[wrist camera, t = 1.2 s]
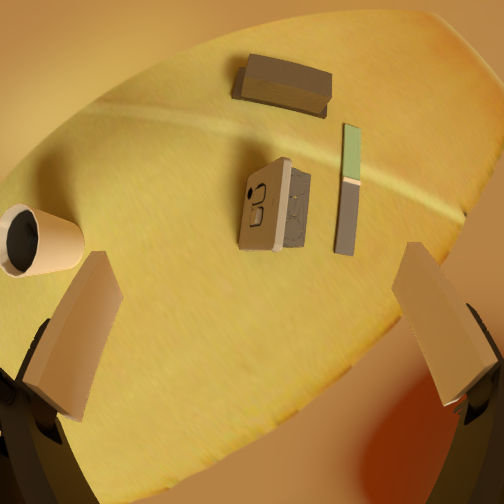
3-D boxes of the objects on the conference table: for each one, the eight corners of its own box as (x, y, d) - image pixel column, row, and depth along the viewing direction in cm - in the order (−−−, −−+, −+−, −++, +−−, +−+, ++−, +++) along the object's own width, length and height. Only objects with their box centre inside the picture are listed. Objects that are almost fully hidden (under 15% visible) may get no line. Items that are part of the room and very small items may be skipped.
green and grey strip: (334, 252, 31) (336, 252, 30) (343, 125, 32) (346, 122, 31) (351, 256, 31) (354, 255, 31) (359, 130, 32) (361, 128, 31)
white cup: (66, 206, 27) (19, 188, 17) (97, 243, 28) (51, 237, 18) (38, 246, 26) (-13, 242, 17) (66, 284, 27) (17, 293, 17)
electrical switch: (247, 176, 30) (267, 150, 22) (285, 184, 31) (316, 162, 23) (237, 250, 30) (254, 248, 22) (277, 255, 31) (308, 256, 23)
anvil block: (232, 98, 30) (235, 75, 25) (239, 70, 30) (242, 46, 25) (324, 119, 31) (339, 100, 26) (325, 90, 32) (339, 70, 27)
